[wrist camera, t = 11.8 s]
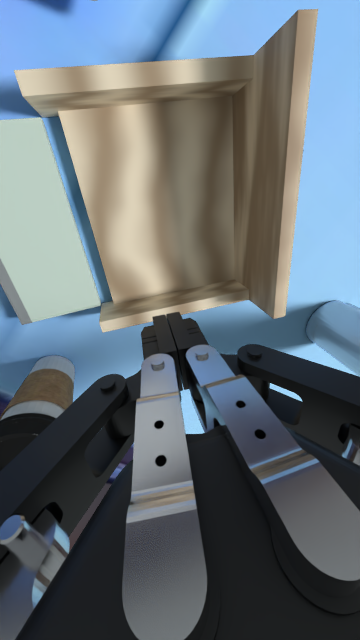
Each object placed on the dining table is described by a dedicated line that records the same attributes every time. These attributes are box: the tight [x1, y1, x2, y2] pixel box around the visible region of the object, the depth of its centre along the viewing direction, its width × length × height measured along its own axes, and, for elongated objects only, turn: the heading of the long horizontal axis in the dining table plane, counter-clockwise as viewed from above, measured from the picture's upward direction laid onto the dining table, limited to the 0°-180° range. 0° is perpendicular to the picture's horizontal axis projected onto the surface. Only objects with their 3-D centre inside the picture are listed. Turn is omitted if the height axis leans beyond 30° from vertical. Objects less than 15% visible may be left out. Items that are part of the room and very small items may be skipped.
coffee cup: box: [0, 355, 75, 471], centre depth 31 cm, size 8×8×15 cm
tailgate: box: [0, 117, 101, 325], centre depth 27 cm, size 2×20×10 cm
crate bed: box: [14, 9, 318, 332], centre depth 26 cm, size 22×24×12 cm
